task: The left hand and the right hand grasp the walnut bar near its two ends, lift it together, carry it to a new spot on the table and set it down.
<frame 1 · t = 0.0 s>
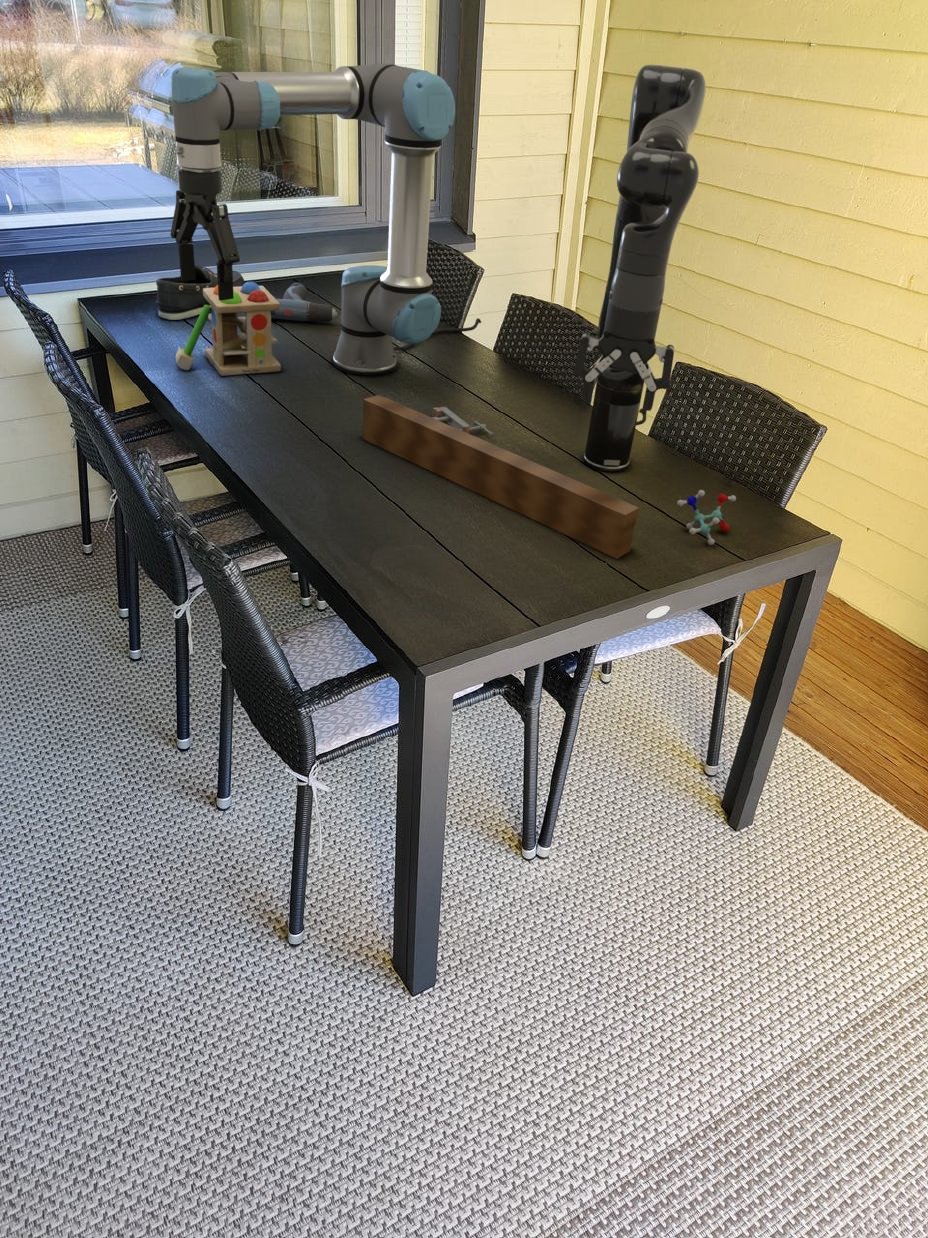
left hand: (206, 289, 186), 28 cm above the table, tool pointing down, fingers open, 13 cm apart
right hand: (616, 407, 150), 29 cm above the table, tool pointing down, fingers open, 8 cm apart
pounding bench toy: (225, 365, 230), on the table
bar: (485, 490, 188), on the table
molecular model: (700, 533, 181), on the table
clamp: (457, 429, 211), on the table
boat shoe: (203, 304, 266), on the table
power drill: (305, 313, 267), on the table
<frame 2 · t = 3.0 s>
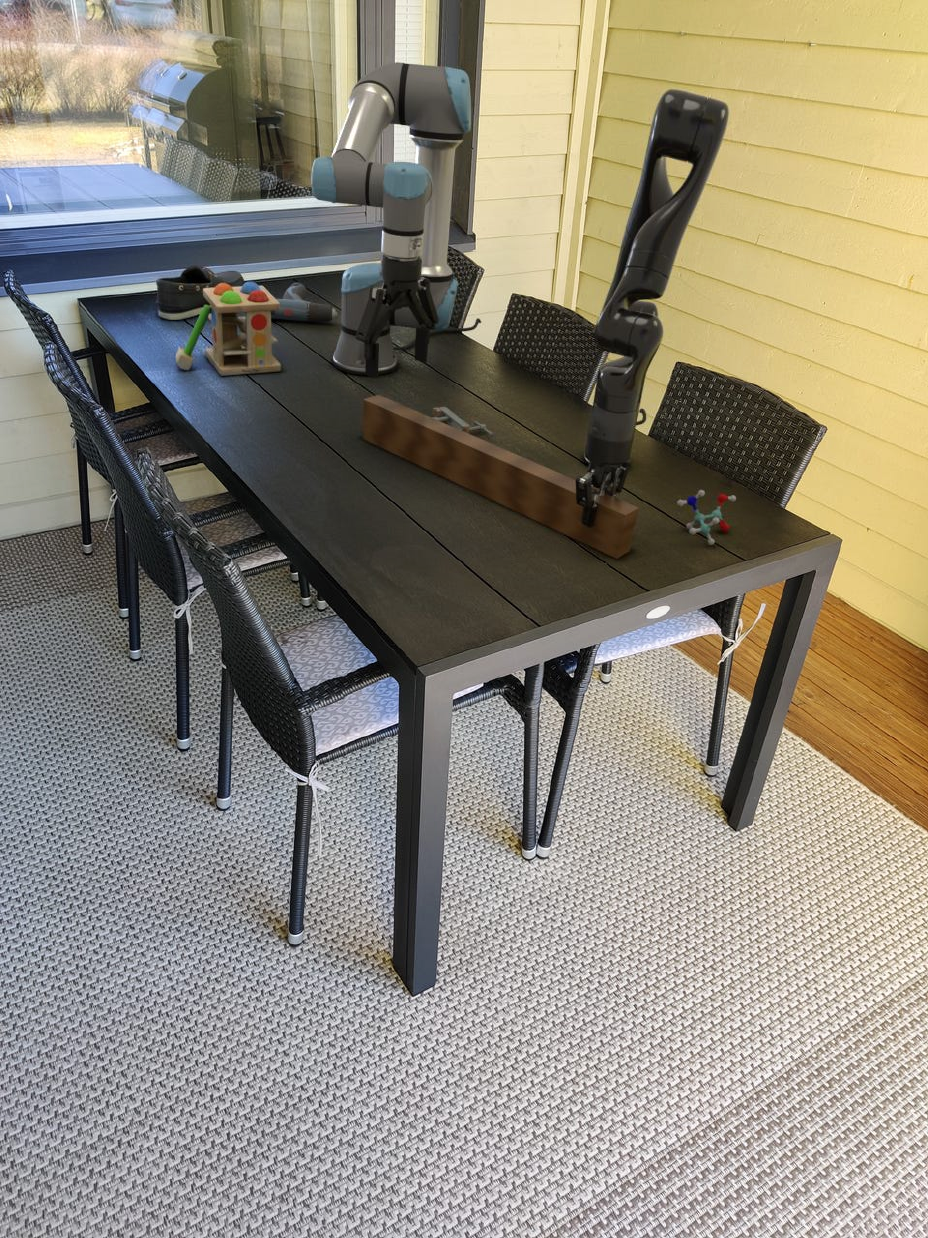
left hand: (396, 368, 191), 17 cm above the table, tool pointing down, fingers open, 13 cm apart
right hand: (595, 520, 173), 4 cm above the table, tool pointing down, fingers closed on bar, 4 cm apart
bar: (485, 490, 188), on the table, touching right hand
everything else where it was.
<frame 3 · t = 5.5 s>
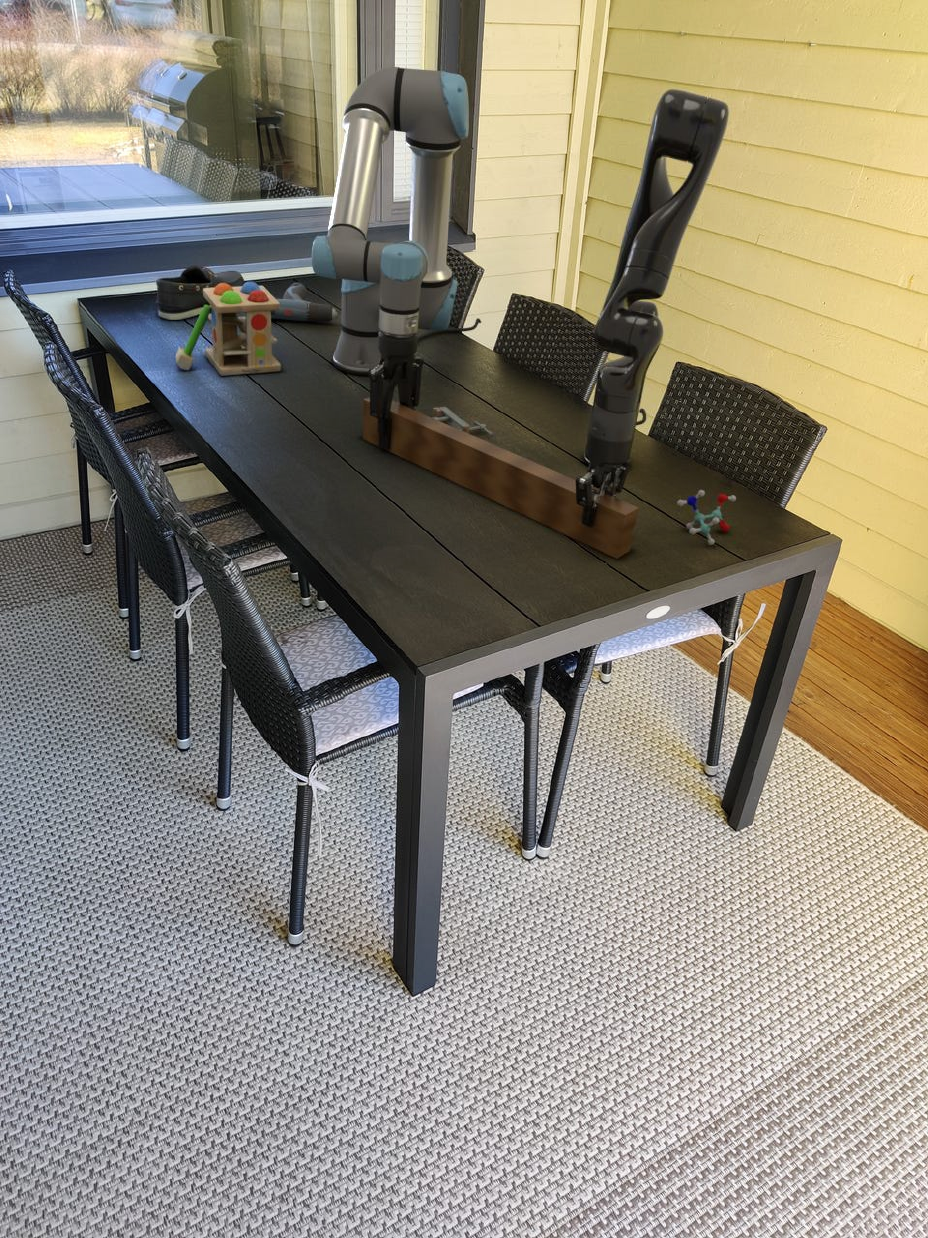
left hand: (393, 444, 200), 1 cm above the table, tool pointing down, fingers closed on bar, 4 cm apart
right hand: (595, 520, 173), 4 cm above the table, tool pointing down, fingers closed on bar, 4 cm apart
bar: (485, 490, 188), on the table, touching left hand, right hand
everything else where it was.
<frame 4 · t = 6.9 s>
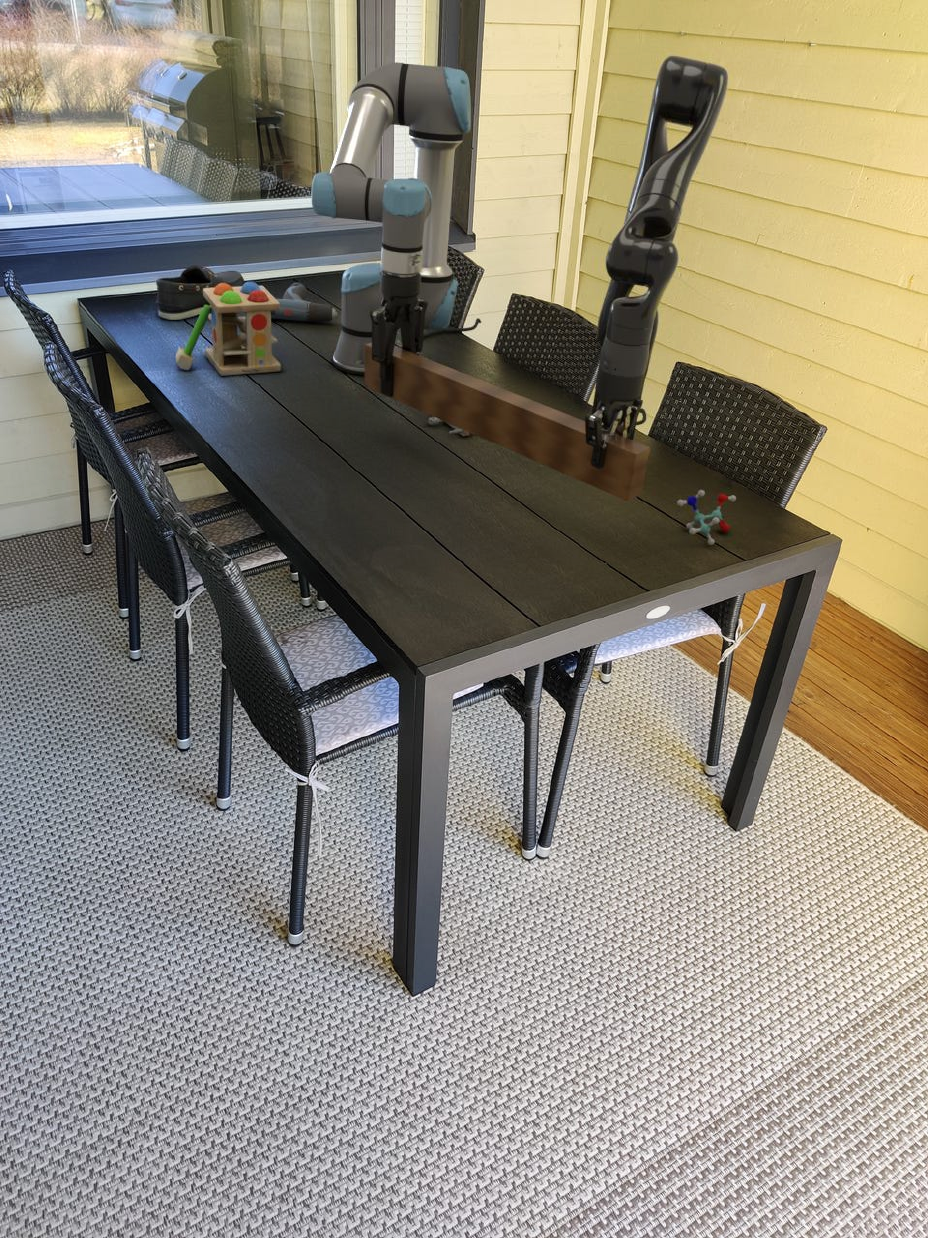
left hand: (395, 391, 194), 12 cm above the table, tool pointing down, fingers closed on bar, 4 cm apart
right hand: (605, 462, 167), 15 cm above the table, tool pointing down, fingers closed on bar, 4 cm apart
bar: (491, 435, 182), point 11 cm above the table, touching left hand, right hand
everything else where it was.
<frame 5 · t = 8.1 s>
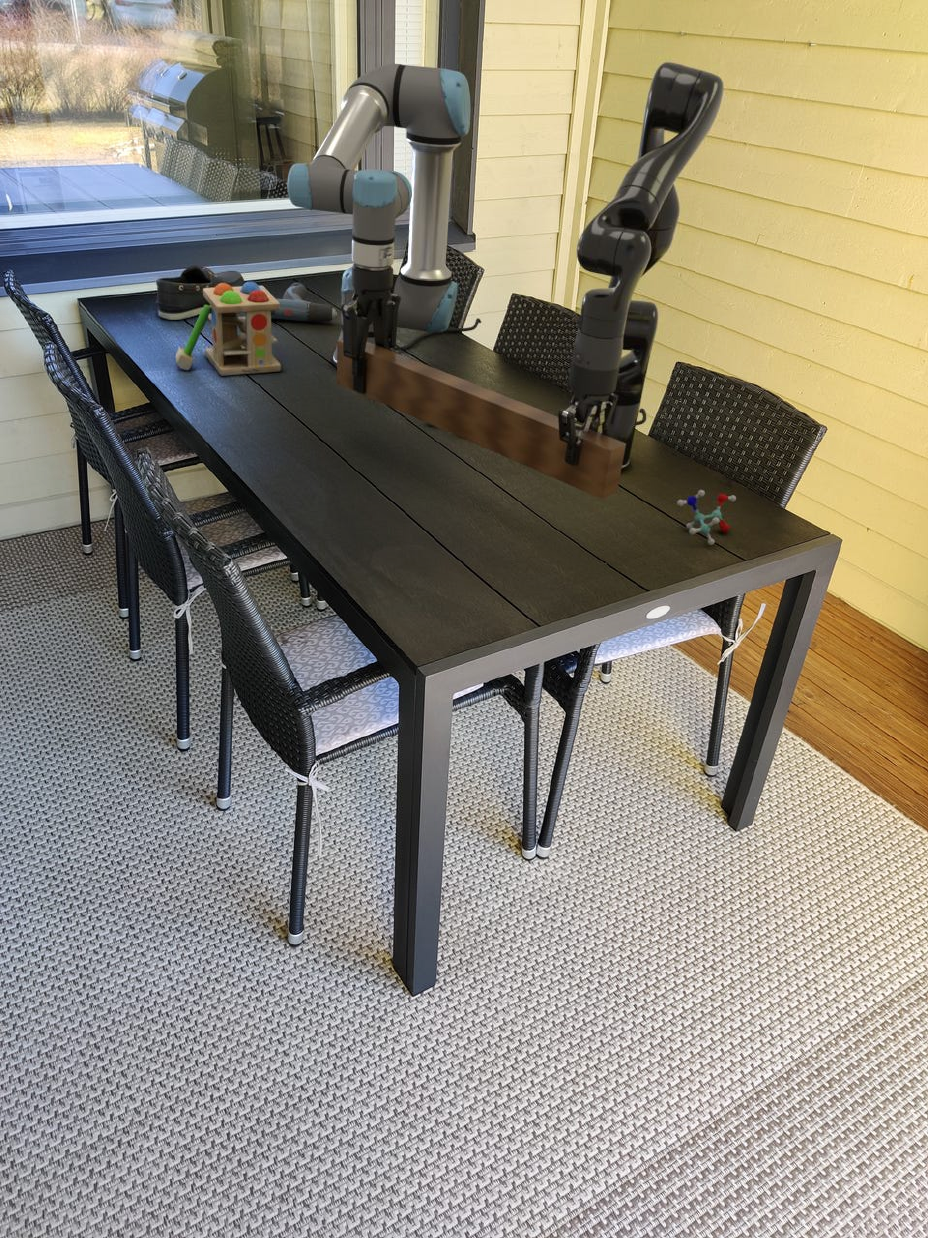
left hand: (368, 388, 190), 14 cm above the table, tool pointing down, fingers closed on bar, 4 cm apart
right hand: (579, 459, 162), 17 cm above the table, tool pointing down, fingers closed on bar, 4 cm apart
bar: (465, 433, 177), point 13 cm above the table, touching left hand, right hand
everything else where it was.
when the left hand's fingers open (2 cm above the table, at t = 10.9 s): bar drops 1 cm, on the table.
when the right hand's fingers open (5 cm above the table, at t = 11.1 s): bar stays where it is, on the table.
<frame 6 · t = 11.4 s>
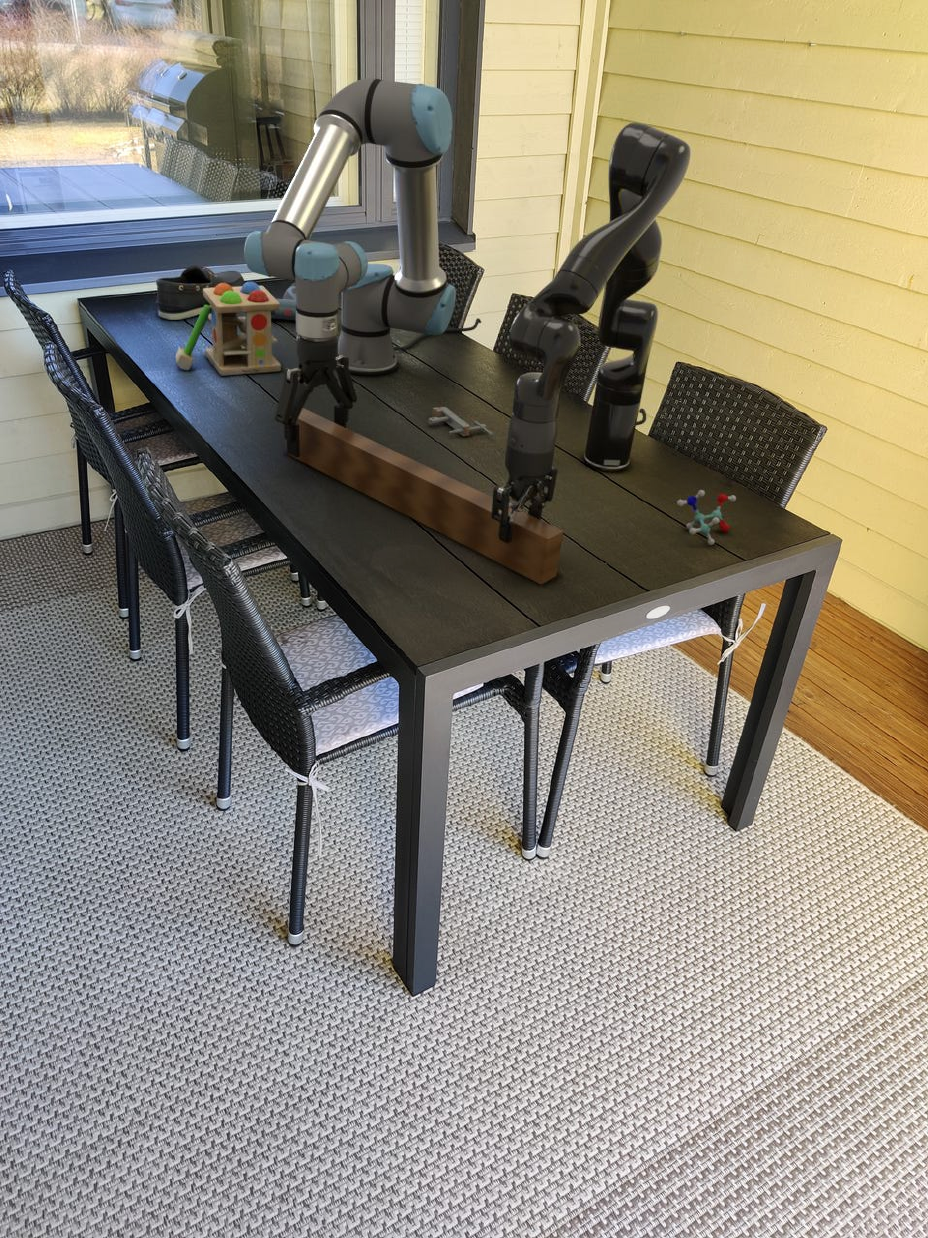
left hand: (317, 446, 189), 4 cm above the table, tool pointing down, fingers open, 11 cm apart
right hand: (519, 533, 163), 6 cm above the table, tool pointing down, fingers open, 7 cm apart
bar: (410, 510, 179), on the table
everything else where it was.
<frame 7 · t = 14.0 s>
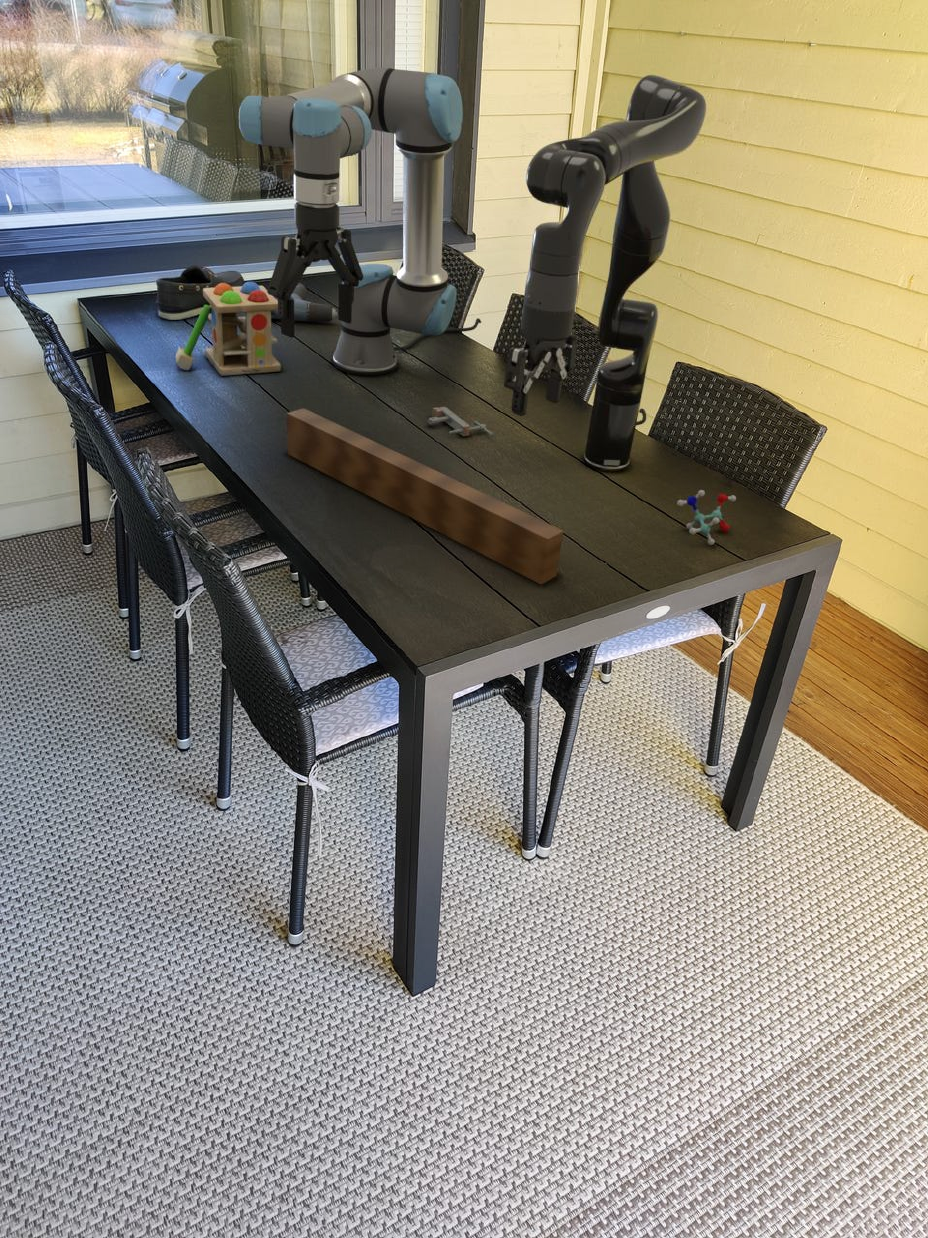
left hand: (317, 328, 176), 27 cm above the table, tool pointing down, fingers open, 13 cm apart
right hand: (535, 407, 150), 28 cm above the table, tool pointing down, fingers open, 8 cm apart
nothing on the table moved.
at the end: bar inside the target area (0.3 cm from its centre), on the table; bar tilted 0°; bar never tilted more than 2° during the clip; both hands held the bar at the same time; the left hand is holding nothing; the right hand is holding nothing; bar at rest at the end (0.0 cm/s) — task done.
